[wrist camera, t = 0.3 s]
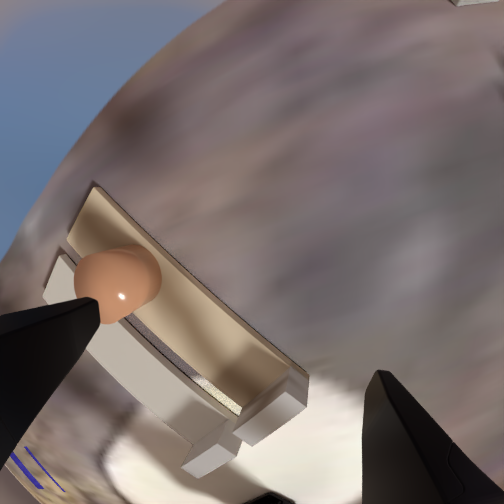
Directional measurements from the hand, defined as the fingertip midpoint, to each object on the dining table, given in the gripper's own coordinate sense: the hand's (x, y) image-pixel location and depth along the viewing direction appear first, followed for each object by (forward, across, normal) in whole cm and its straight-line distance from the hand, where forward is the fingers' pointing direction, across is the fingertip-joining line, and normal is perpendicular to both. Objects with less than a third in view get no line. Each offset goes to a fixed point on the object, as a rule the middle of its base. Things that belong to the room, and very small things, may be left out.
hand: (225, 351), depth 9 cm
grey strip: (+13, +11, +15) cm, 22 cm away
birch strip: (+14, +7, +8) cm, 17 cm away
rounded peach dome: (+13, +11, +6) cm, 18 cm away
